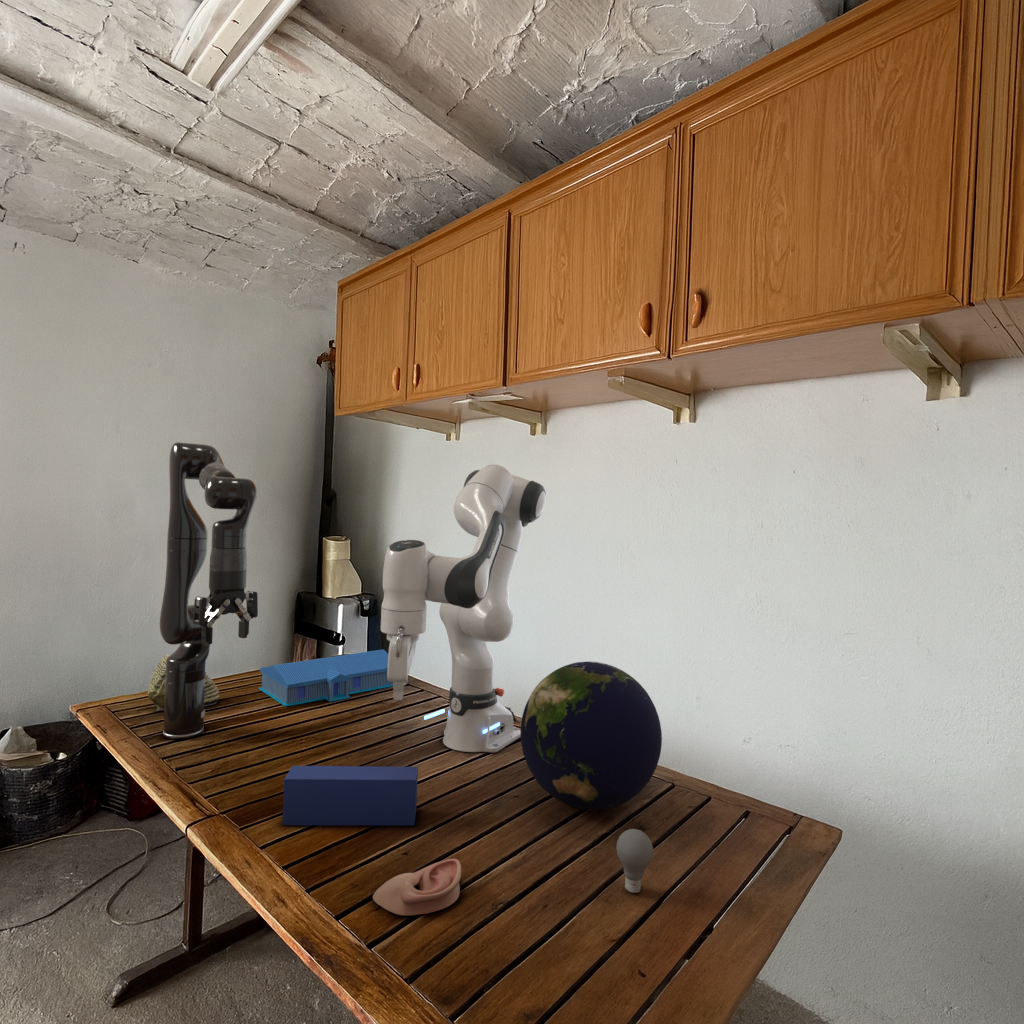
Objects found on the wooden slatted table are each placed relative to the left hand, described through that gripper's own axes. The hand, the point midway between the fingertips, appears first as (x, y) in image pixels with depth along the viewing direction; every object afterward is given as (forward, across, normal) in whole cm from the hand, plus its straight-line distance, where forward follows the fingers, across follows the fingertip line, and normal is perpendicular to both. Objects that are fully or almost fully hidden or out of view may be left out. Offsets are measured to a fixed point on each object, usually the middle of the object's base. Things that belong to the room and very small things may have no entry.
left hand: (225, 640), depth 140 cm
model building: (+30, +60, +30) cm, 74 cm away
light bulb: (+30, +14, -91) cm, 97 cm away
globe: (+30, +38, -72) cm, 87 cm away
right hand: (+5, +9, -43) cm, 44 cm away
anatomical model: (+30, -7, -63) cm, 70 cm away
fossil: (+30, +21, +50) cm, 62 cm away
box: (+30, +4, -36) cm, 47 cm away
